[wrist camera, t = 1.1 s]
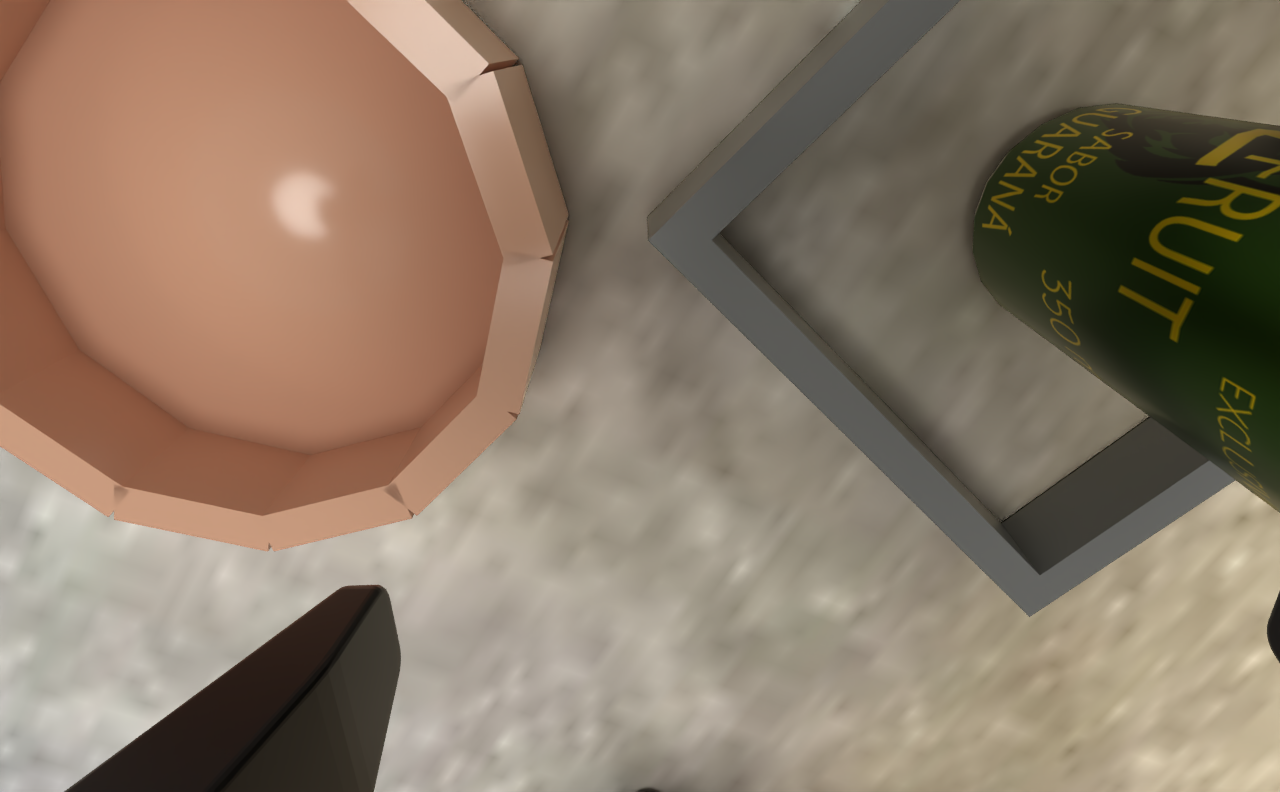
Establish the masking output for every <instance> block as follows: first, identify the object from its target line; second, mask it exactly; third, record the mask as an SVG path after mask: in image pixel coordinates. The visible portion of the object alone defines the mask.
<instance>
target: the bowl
mask: <svg viewBox="0 0 1280 792" xmlns="http://www.w3.org/2000/svg"><path fill="white" fill-rule="evenodd" d="M518 59H519V58H518V57H517V56H516V55H515V54H514V53H513V52H512V51H511V50H510V49H509V48H508V47H507V46H506V45H505V44H504V43H503V42H502V41H501V40H500V39H499V38H498V37H497V36H496V35H495V34H494V33H493V32H492V31H491V30H490V29H489V28H488V27H487V26H486V25H485V24H484V23H483V22H482V21H481V20H480V19H479V18H478V17H477V16H476V15H475V13H474V12H473V11H472V10H471V9H470V8H469V7H468V6H467V5H466V4H465V3H464V2H463V1H462V0H0V446H1V447H2V448H4V449H5V450H7V451H8V452H10V453H11V454H13V455H14V456H16V457H17V458H19V459H20V460H22V461H23V462H25V463H26V464H28V465H30V466H31V467H33V468H34V469H36V470H37V471H39V472H40V473H42V474H43V475H45V476H46V477H48V478H49V479H51V480H52V481H54V482H55V483H57V484H59V485H60V486H62V487H63V488H65V489H66V490H68V491H69V492H71V493H72V494H74V495H75V496H77V497H78V498H80V499H81V500H83V501H84V502H86V503H88V504H89V505H91V506H92V507H94V508H95V509H97V510H98V511H100V512H101V513H103V514H104V515H106V516H107V517H109V516H110V515H111V514H112V513H113V512H114V520H119V521H123V522H128V523H133V524H138V525H143V526H148V527H152V528H157V529H162V530H167V531H172V532H177V533H182V534H186V535H191V536H196V537H201V538H206V539H211V540H215V541H220V542H225V543H230V544H235V545H240V546H244V547H249V548H254V549H259V550H264V551H269V549H270V548H271V547H272V549H273V551H277V550H282V549H286V548H290V547H294V546H298V545H303V544H307V543H311V542H315V541H319V540H324V539H328V538H332V537H336V536H340V535H344V534H349V533H353V532H357V531H361V530H365V529H370V528H374V527H378V526H382V525H386V524H391V523H395V522H399V521H403V520H407V519H411V518H412V517H413V515H414V514H415V515H418V514H419V513H420V512H421V511H422V510H423V509H424V508H425V507H427V506H428V505H429V504H430V503H431V502H432V501H433V500H434V499H435V498H436V497H437V496H438V495H439V494H440V493H441V492H442V491H443V490H444V489H445V488H446V487H447V486H448V485H449V484H450V483H451V482H452V481H453V480H454V479H455V478H456V477H457V476H458V475H460V474H461V473H462V472H463V471H464V470H465V469H466V468H467V467H468V466H469V465H470V464H471V463H472V462H473V461H474V460H475V459H476V458H477V457H478V456H479V455H480V454H481V453H482V452H483V451H484V450H485V449H486V448H487V447H488V446H489V445H490V444H491V443H493V442H494V441H495V440H496V439H497V438H498V437H499V436H500V435H501V434H502V433H503V432H504V431H505V430H506V429H507V428H508V427H509V426H510V425H511V424H512V423H513V422H514V421H515V420H516V419H517V416H518V414H520V411H521V407H522V404H523V401H524V398H525V395H526V392H527V389H528V385H529V382H530V379H531V376H532V373H533V370H534V367H535V363H536V360H537V357H538V354H539V351H540V347H541V343H542V338H543V334H544V329H545V325H546V320H547V316H548V311H549V307H550V303H551V298H552V294H553V289H554V285H555V280H556V276H557V271H558V267H559V263H560V258H561V254H562V249H563V245H564V240H565V236H566V231H567V227H568V223H569V220H567V218H568V215H569V214H568V210H567V207H566V204H565V201H564V197H563V194H562V191H561V188H560V185H559V181H558V178H557V175H556V172H555V168H554V165H553V162H552V159H551V155H550V152H549V149H548V146H547V142H546V139H545V136H544V133H543V129H542V126H541V123H540V120H539V117H538V113H537V110H536V107H535V104H534V100H533V97H532V94H531V91H530V87H529V84H528V81H527V78H526V74H525V71H524V68H523V65H518V66H514V67H512V66H513V65H514V64H515V63H516V61H517V60H518Z"/></svg>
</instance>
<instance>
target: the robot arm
mask: <svg viewBox="0 0 1280 792" xmlns="http://www.w3.org/2000/svg"><path fill="white" fill-rule="evenodd" d="M1267 637H1268V641H1269V644H1270V647H1271V649H1272V651H1273V653H1274V655H1275V656H1276V658H1277V659H1278V661H1279V663H1280V592H1279V594H1278V597H1277V600H1276V602H1275V605H1274V608H1273V610H1272V613H1271V615H1270V618H1269V621H1268V624H1267ZM400 664H401V651H400V645H399V640H398V635H397V630H396V625H395V620H394V616H393V611H392V606H391V601H390V597H389V594H388V592H387V591H386V589H385V588H384V587H382V586H380V585H356V586H345V587H342V588H340V589H339V590H337V591H336V592H334V593H333V594H331V595H330V596H329V597H327V598H326V599H325V600H323V601H322V602H321V603H319V604H318V605H317V606H315V607H314V608H312V609H311V610H310V611H308V612H307V613H306V614H304V615H303V616H302V617H300V618H299V619H298V620H296V621H295V622H293V623H292V624H291V625H289V626H288V627H287V628H285V629H284V630H283V631H281V632H280V633H279V634H277V635H276V636H275V637H273V638H272V639H270V640H269V641H268V642H266V643H265V644H264V645H262V646H261V647H260V648H258V649H257V650H256V651H254V652H253V653H251V654H250V655H249V656H247V657H246V658H245V659H243V660H242V661H241V662H239V663H238V664H237V665H235V666H234V667H233V668H231V669H230V670H228V671H227V672H226V673H224V674H223V675H222V676H220V677H219V678H218V679H216V680H215V681H214V682H212V683H211V684H209V685H208V686H207V687H205V688H204V689H203V690H201V691H200V692H199V693H197V694H196V695H195V696H193V697H192V698H190V699H189V700H188V701H186V702H185V703H184V704H182V705H181V706H180V707H178V708H177V709H176V710H174V711H173V712H172V713H170V714H169V715H167V716H166V717H165V718H163V719H162V720H161V721H159V722H158V723H157V724H155V725H154V726H153V727H151V728H150V729H148V730H147V731H146V732H144V733H143V734H142V735H140V736H139V737H138V738H136V739H135V740H134V741H132V742H131V743H130V744H128V745H127V746H125V747H124V748H123V749H121V750H120V751H119V752H117V753H116V754H115V755H113V756H112V757H111V758H109V759H108V760H106V761H105V762H104V763H102V764H101V765H100V766H98V767H97V768H96V769H94V770H93V771H92V772H90V773H89V774H87V775H86V776H85V777H83V778H82V779H81V780H79V781H78V782H77V783H75V784H74V785H73V786H71V787H70V788H68V789H67V790H66V791H64V792H374V788H375V783H376V779H377V774H378V770H379V765H380V760H381V756H382V751H383V747H384V742H385V737H386V733H387V728H388V724H389V719H390V714H391V710H392V705H393V700H394V696H395V691H396V687H397V682H398V677H399V672H400Z"/></svg>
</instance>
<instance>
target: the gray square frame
mask: <svg viewBox="0 0 1280 792" xmlns="http://www.w3.org/2000/svg"><path fill="white" fill-rule="evenodd" d="M959 1H960V0H862V1H861V2H860V3H859V4H858V5H857V6H856V7H855V8H854V9H853V10H852V11H851V12H850V13H849V14H848V15H847V16H846V17H845V18H844V19H843V20H842V21H841V22H840V23H839V24H838V25H837V26H836V27H835V28H834V29H833V30H832V31H831V32H830V33H829V34H828V35H827V36H826V37H825V38H824V39H823V40H822V41H821V42H820V43H819V44H818V45H817V46H816V47H815V48H814V49H813V50H812V51H811V52H810V53H809V54H808V55H807V56H806V57H805V58H804V59H803V60H802V61H801V62H800V63H799V64H798V65H797V66H796V67H795V68H794V69H793V70H792V71H791V72H790V73H789V74H788V75H787V76H786V77H785V78H784V79H783V80H782V81H781V82H780V83H779V84H778V85H777V86H776V87H775V88H774V89H773V90H772V91H771V92H770V93H769V94H768V95H767V97H766V98H765V99H764V100H763V101H762V102H761V103H760V104H759V105H758V106H757V107H756V108H755V109H754V110H753V111H752V112H751V113H750V114H749V115H748V116H747V117H746V118H745V119H744V120H743V121H742V122H741V123H740V124H739V125H738V126H737V127H736V128H735V129H734V130H733V131H732V132H731V133H730V134H729V135H728V136H727V137H726V138H725V139H724V140H723V141H722V142H721V143H720V144H719V145H718V146H717V147H716V148H715V149H714V150H713V151H712V152H711V153H710V154H709V155H708V156H707V157H706V158H705V159H704V160H703V161H702V162H701V163H700V164H699V165H698V166H697V167H696V168H695V169H694V170H693V171H692V172H691V173H690V174H689V175H688V176H687V177H686V178H685V179H684V180H683V181H682V182H681V183H680V184H679V185H678V186H677V187H676V188H675V189H674V190H673V191H672V192H671V193H670V194H669V195H668V196H667V197H666V198H665V199H664V201H663V202H662V203H661V204H660V205H659V206H658V207H657V208H656V209H655V210H654V211H653V212H652V213H651V214H650V215H649V216H648V217H647V227H648V241H649V242H650V243H651V244H652V245H653V246H654V247H655V248H656V249H657V250H658V251H659V252H660V253H661V254H662V255H663V256H664V257H665V258H666V259H667V260H668V261H669V262H670V263H671V264H672V265H673V266H674V267H675V268H676V269H677V270H678V271H680V272H681V273H682V274H683V275H684V276H685V277H686V278H687V279H688V280H689V281H690V282H691V283H692V284H693V285H694V286H695V287H696V288H697V289H698V290H699V291H700V292H701V293H702V294H703V295H704V296H705V297H706V298H707V299H708V300H709V301H710V302H711V303H712V304H713V305H714V306H715V307H716V308H717V309H718V310H719V311H720V312H721V313H722V314H723V315H724V316H725V317H726V318H727V319H728V320H729V321H730V322H731V323H732V324H733V325H734V326H735V327H736V328H737V329H738V330H739V331H740V332H741V333H742V334H743V335H744V336H745V337H746V338H747V339H748V340H749V341H750V342H751V343H752V344H753V345H754V346H756V347H757V348H758V349H759V350H760V351H761V352H762V353H763V354H764V355H765V356H766V357H767V358H768V359H769V360H770V361H771V362H772V363H773V364H774V365H775V366H776V367H777V368H778V369H779V370H780V371H781V372H782V373H783V374H784V375H785V376H786V377H787V378H788V379H789V380H790V381H791V382H792V383H793V384H794V385H795V386H796V387H797V388H798V389H799V390H800V391H801V392H802V393H803V394H804V395H805V396H806V397H807V398H808V399H809V400H810V401H811V402H812V403H813V404H814V405H815V406H816V407H817V408H818V409H819V410H820V411H821V412H822V413H823V414H824V415H825V416H826V417H827V418H828V419H829V420H830V421H831V422H833V423H834V424H835V425H836V426H837V427H838V428H839V429H840V430H841V431H842V432H843V433H844V434H845V435H846V436H847V437H848V438H849V439H850V440H851V441H852V442H853V443H854V444H855V445H856V446H857V447H858V448H859V449H860V450H861V451H862V452H863V453H864V454H865V455H866V456H867V457H868V458H869V459H870V460H871V461H872V462H873V463H874V464H875V465H876V466H877V467H878V468H879V469H880V470H881V471H882V472H883V473H884V474H885V475H886V476H887V477H888V478H889V479H890V480H891V481H892V482H893V483H894V484H895V485H896V486H897V487H898V488H899V489H900V490H901V491H902V492H903V493H904V494H905V495H906V496H907V497H909V498H910V499H911V500H912V501H913V502H914V503H915V504H916V505H917V506H918V507H919V508H920V509H921V510H922V511H923V512H924V513H925V514H926V515H927V516H928V517H929V518H930V519H931V520H932V521H933V522H934V523H935V524H936V525H937V526H938V527H939V528H940V529H941V530H942V531H943V532H944V533H945V534H946V535H947V536H948V537H949V538H950V539H951V540H952V541H953V542H954V543H955V544H956V545H957V546H958V547H959V548H960V549H961V550H962V551H963V552H964V553H965V554H966V555H967V556H968V557H969V558H970V559H971V560H972V561H973V562H974V563H975V564H976V565H977V566H978V567H979V568H980V569H981V570H982V571H983V572H984V573H986V574H987V575H988V576H989V577H990V578H991V579H992V580H993V581H994V582H995V583H996V584H997V585H998V586H999V587H1000V588H1001V589H1002V590H1003V591H1004V592H1005V593H1006V594H1007V595H1008V596H1009V597H1010V598H1011V599H1012V600H1013V601H1014V602H1015V603H1016V604H1017V605H1018V606H1019V607H1020V608H1021V609H1022V610H1023V611H1024V612H1025V613H1026V614H1027V615H1028V616H1029V617H1030V616H1032V615H1033V614H1035V613H1036V612H1038V611H1039V610H1041V609H1042V608H1044V607H1045V606H1047V605H1048V604H1050V603H1051V602H1053V601H1054V600H1056V599H1057V598H1059V597H1060V596H1062V595H1063V594H1065V593H1066V592H1068V591H1069V590H1071V589H1072V588H1074V587H1075V586H1077V585H1078V584H1080V583H1081V582H1083V581H1084V580H1086V579H1087V578H1089V577H1090V576H1092V575H1093V574H1095V573H1096V572H1098V571H1099V570H1101V569H1102V568H1104V567H1105V566H1107V565H1108V564H1110V563H1111V562H1113V561H1114V560H1116V559H1117V558H1119V557H1120V556H1122V555H1124V554H1125V553H1127V552H1128V551H1130V550H1131V549H1133V548H1134V547H1136V546H1137V545H1139V544H1140V543H1142V542H1143V541H1145V540H1146V539H1148V538H1149V537H1151V536H1152V535H1154V534H1155V533H1157V532H1158V531H1160V530H1161V529H1163V528H1164V527H1166V526H1167V525H1169V524H1170V523H1172V522H1173V521H1175V520H1176V519H1178V518H1179V517H1181V516H1182V515H1184V514H1185V513H1187V512H1188V511H1190V510H1191V509H1193V508H1194V507H1196V506H1197V505H1199V504H1200V503H1202V502H1203V501H1205V500H1206V499H1208V498H1209V497H1211V496H1212V495H1214V494H1215V493H1217V492H1218V491H1220V490H1221V489H1223V488H1224V487H1226V486H1227V485H1229V484H1230V483H1232V482H1233V481H1235V479H1234V478H1232V477H1231V476H1230V475H1228V474H1227V473H1225V472H1224V471H1223V470H1221V469H1220V468H1219V467H1217V466H1216V465H1215V464H1213V463H1212V462H1211V461H1209V460H1208V459H1207V458H1205V457H1204V456H1203V455H1201V454H1200V453H1199V452H1197V451H1196V450H1194V449H1193V448H1192V447H1190V446H1189V445H1188V444H1186V443H1185V442H1184V441H1182V440H1181V439H1180V438H1178V437H1177V436H1176V435H1174V434H1173V433H1172V432H1170V431H1169V430H1168V429H1166V428H1165V427H1163V426H1162V425H1161V424H1159V423H1158V422H1157V421H1155V420H1154V419H1153V418H1151V417H1150V418H1148V419H1147V420H1146V421H1144V422H1143V423H1141V424H1140V425H1139V426H1137V427H1136V428H1134V429H1133V430H1132V431H1130V432H1129V433H1127V434H1126V435H1125V436H1123V437H1122V438H1120V439H1119V440H1118V441H1116V442H1115V443H1113V444H1112V445H1111V446H1109V447H1108V448H1106V449H1105V450H1104V451H1102V452H1101V453H1099V454H1098V455H1097V456H1095V457H1094V458H1092V459H1091V460H1090V461H1088V462H1087V463H1085V464H1084V465H1083V466H1081V467H1080V468H1078V469H1077V470H1076V471H1074V472H1073V473H1071V474H1070V475H1069V476H1067V477H1066V478H1064V479H1063V480H1062V481H1060V482H1059V483H1057V484H1056V485H1055V486H1053V487H1052V488H1050V489H1049V490H1048V491H1046V492H1045V493H1043V494H1042V495H1041V496H1039V497H1038V498H1036V499H1035V500H1034V501H1032V502H1031V503H1029V504H1028V505H1027V506H1025V507H1024V508H1022V509H1021V510H1020V511H1018V512H1017V513H1015V514H1014V515H1013V516H1011V517H1010V518H1008V519H1007V520H1006V521H1004V522H1003V523H1000V522H999V521H998V520H997V519H996V518H995V517H994V515H993V514H992V513H991V512H990V511H989V510H988V509H987V508H986V507H985V506H984V505H983V504H982V503H981V502H980V501H979V500H978V499H977V498H976V497H975V496H974V495H973V494H972V493H971V492H970V491H969V490H968V489H967V488H966V487H965V486H964V485H963V484H962V483H961V482H960V480H959V479H958V478H957V477H956V476H955V475H954V474H953V473H952V472H951V471H950V470H949V469H948V468H947V467H946V466H945V465H944V464H943V463H942V462H941V461H940V460H939V459H938V458H937V457H936V456H935V455H934V454H933V453H932V452H931V451H930V450H929V449H928V448H927V447H926V445H925V444H924V443H923V442H922V441H921V440H920V439H919V438H918V437H917V436H916V435H915V434H914V433H913V432H912V431H911V430H910V429H909V428H908V427H907V426H906V425H905V424H904V423H903V422H902V421H901V420H900V419H899V418H898V417H897V416H896V415H895V414H894V413H893V412H892V410H891V409H890V408H889V407H888V406H887V405H886V404H885V403H884V402H883V401H882V400H881V399H880V398H879V397H878V396H877V395H876V394H875V393H874V392H873V391H872V390H871V389H870V388H869V387H868V386H867V385H866V384H865V383H864V382H863V381H862V380H861V379H860V378H859V377H858V375H857V374H856V373H855V372H854V371H853V370H852V369H851V368H850V367H849V366H848V365H847V364H846V363H845V362H844V361H843V360H842V359H841V358H840V357H839V356H838V355H837V354H836V353H835V352H834V351H833V350H832V349H831V348H830V347H829V346H828V345H827V344H826V343H825V342H824V340H823V339H822V338H821V337H820V336H819V335H818V334H817V333H816V332H815V331H814V330H813V329H812V328H811V327H810V326H809V325H808V324H807V323H806V322H805V321H804V320H803V319H802V318H801V317H800V316H799V315H798V314H797V313H796V312H795V311H794V310H793V309H792V308H791V307H790V306H789V304H788V303H787V302H786V301H785V300H784V299H783V298H782V297H781V296H780V295H779V294H778V293H777V292H776V291H775V290H774V289H773V288H772V287H771V286H770V285H769V284H768V283H767V282H766V281H765V280H764V279H763V278H762V277H761V276H760V275H759V274H758V273H757V272H756V271H755V269H754V268H753V267H752V266H751V265H750V264H749V263H748V262H747V261H746V260H745V259H744V258H743V257H742V256H741V255H740V254H739V253H738V252H737V251H736V250H735V249H734V248H733V247H732V246H731V245H730V244H729V243H728V242H727V241H726V240H725V239H724V238H723V237H722V236H721V234H720V232H721V231H722V230H723V229H724V228H725V227H726V226H727V225H728V224H729V223H730V222H731V221H732V220H733V219H734V218H735V217H736V216H737V215H738V214H739V213H740V212H741V211H742V210H743V209H745V208H746V207H747V206H748V205H749V204H750V203H751V202H752V201H753V200H754V199H755V198H756V197H757V196H758V195H759V194H760V193H761V192H762V191H763V190H764V189H765V188H766V187H767V186H768V185H769V184H770V183H771V182H772V181H774V180H775V179H776V178H777V177H778V176H779V175H780V174H781V173H782V172H783V171H784V170H785V169H786V168H787V167H788V166H789V165H790V164H791V163H792V162H793V161H794V160H795V159H796V158H797V157H798V156H799V155H800V154H802V153H803V152H804V151H805V150H806V149H807V148H808V147H809V146H810V145H811V144H812V143H813V142H814V141H815V140H816V139H817V138H818V137H819V136H820V135H821V134H822V133H823V132H824V131H825V130H826V129H827V128H828V127H830V126H831V125H832V124H833V123H834V122H835V121H836V120H837V119H838V118H839V117H840V116H841V115H842V114H843V113H844V112H845V111H846V110H847V109H848V108H849V107H850V106H851V105H852V104H853V103H854V102H855V101H856V100H858V99H859V98H860V97H861V96H862V95H863V94H864V93H865V92H866V91H867V90H868V89H869V88H870V87H871V86H872V85H873V84H874V83H875V82H876V81H877V80H878V79H879V78H880V77H881V76H882V75H883V74H884V73H886V72H887V71H888V70H889V69H890V68H891V67H892V66H893V65H894V64H895V63H896V62H897V61H898V60H899V59H900V58H901V57H902V56H903V55H904V54H905V53H906V52H907V51H908V50H909V49H910V48H911V47H912V46H913V45H915V44H916V43H917V42H918V41H919V40H920V39H921V38H922V37H923V36H924V35H925V34H926V33H927V32H928V31H929V30H930V29H931V28H932V27H933V26H934V25H935V24H936V23H937V22H938V21H939V20H940V19H941V18H943V17H944V16H945V15H946V14H947V13H948V12H949V11H950V10H951V9H952V8H953V7H954V6H955V5H956V4H957V3H958V2H959Z"/></svg>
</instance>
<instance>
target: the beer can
mask: <svg viewBox="0 0 1280 792" xmlns="http://www.w3.org/2000/svg"><path fill="white" fill-rule="evenodd" d="M973 255H974V258H975V262H976V265H977V268H978V272H979V275H980V278H981V282H982V283H983V284H984V286H985V287H986V288H987V289H988V291H989V292H990V293H991V295H992V296H993V297H994V298H995V300H996V301H997V302H998V304H999V305H1000V306H1002V307H1003V308H1004V309H1006V310H1007V311H1008V312H1010V313H1011V314H1012V315H1014V316H1015V317H1016V318H1018V319H1019V320H1021V321H1022V322H1023V323H1025V324H1026V325H1027V326H1029V327H1030V328H1031V329H1033V330H1034V331H1035V332H1037V333H1038V334H1039V335H1041V336H1042V337H1043V338H1045V339H1046V340H1047V341H1049V342H1050V343H1052V344H1053V345H1054V346H1056V347H1057V348H1058V349H1060V350H1061V351H1062V352H1064V353H1065V354H1066V355H1068V356H1069V357H1070V358H1072V359H1073V360H1074V361H1076V362H1077V363H1079V364H1080V365H1081V366H1083V367H1084V368H1085V369H1087V370H1088V371H1089V372H1091V373H1092V374H1093V375H1095V376H1096V377H1097V378H1099V379H1100V380H1101V381H1103V382H1104V383H1105V384H1107V385H1108V386H1110V387H1111V388H1112V389H1114V390H1115V391H1116V392H1118V393H1119V394H1120V395H1122V396H1123V397H1124V398H1126V399H1127V400H1128V401H1130V402H1131V403H1132V404H1134V405H1135V406H1136V407H1138V408H1139V409H1141V410H1142V411H1143V412H1145V413H1146V414H1147V415H1149V416H1150V417H1151V418H1153V419H1154V420H1155V421H1157V422H1158V423H1159V424H1161V425H1162V426H1163V427H1165V428H1166V429H1168V430H1169V431H1170V432H1172V433H1173V434H1174V435H1176V436H1177V437H1178V438H1180V439H1181V440H1182V441H1184V442H1185V443H1186V444H1188V445H1189V446H1190V447H1192V448H1193V449H1194V450H1196V451H1197V452H1199V453H1200V454H1201V455H1203V456H1204V457H1205V458H1207V459H1208V460H1209V461H1211V462H1212V463H1213V464H1215V465H1216V466H1217V467H1219V468H1220V469H1221V470H1223V471H1224V472H1225V473H1227V474H1228V475H1230V476H1231V477H1232V478H1234V479H1235V480H1236V481H1238V482H1239V483H1240V484H1242V485H1243V486H1244V487H1246V488H1247V489H1248V490H1250V491H1251V492H1252V493H1254V494H1255V495H1256V496H1258V497H1259V498H1261V499H1262V500H1263V501H1265V502H1266V503H1267V504H1269V505H1270V506H1271V507H1273V508H1274V509H1275V510H1277V511H1278V512H1279V513H1280V126H1276V125H1269V124H1261V123H1254V122H1247V121H1240V120H1232V119H1225V118H1218V117H1211V116H1203V115H1196V114H1189V113H1182V112H1174V111H1167V110H1160V109H1153V108H1146V107H1138V106H1131V105H1124V104H1117V103H1115V104H1107V105H1100V106H1092V107H1084V108H1078V109H1075V110H1073V111H1071V112H1069V113H1067V114H1064V115H1062V116H1060V117H1058V118H1055V119H1053V120H1051V121H1049V122H1046V123H1044V124H1042V125H1041V126H1039V127H1038V128H1037V129H1036V130H1035V131H1033V132H1032V133H1031V134H1030V135H1029V136H1027V137H1026V138H1025V139H1024V140H1022V141H1021V142H1020V143H1019V144H1018V145H1016V146H1015V147H1014V148H1013V149H1011V150H1010V151H1009V152H1008V153H1007V154H1006V155H1005V156H1004V158H1003V159H1002V161H1001V162H1000V163H999V165H998V166H997V168H996V169H995V170H994V172H993V173H992V175H991V176H990V177H989V179H988V180H987V181H986V184H985V186H984V189H983V192H982V195H981V197H980V200H979V203H978V205H977V208H976V211H975V216H974V233H973Z"/></svg>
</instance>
